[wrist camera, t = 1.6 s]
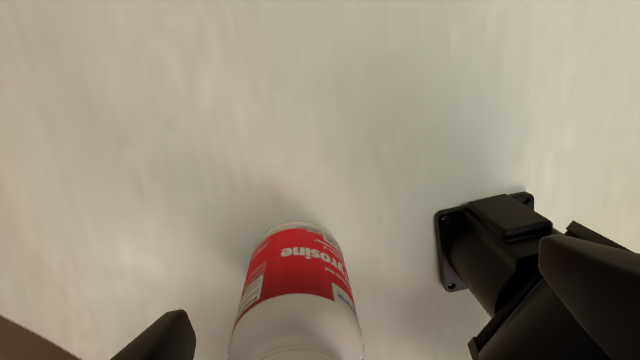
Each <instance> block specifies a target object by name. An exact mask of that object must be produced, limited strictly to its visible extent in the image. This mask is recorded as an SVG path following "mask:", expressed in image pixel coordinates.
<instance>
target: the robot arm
mask: <svg viewBox="0 0 640 360" xmlns="http://www.w3.org/2000/svg"><path fill="white" fill-rule="evenodd" d="M524 198H526V200H525V201H524V202H523V200H524ZM444 216H446V218H445V219H444V220H442V218H443V217H444ZM436 228H437V237H438V247H439V256H440V266H441V275H442V285H443V287H444V288H445V290H446V291H448V292H454V291H458V290H463V289H467V288H468V289H469V290H470V291H471V292H472V294H473V295H474V296H475V298H476V299H477V300H478V301H479V303H480V304H481V305H482V306H483V308H484V309H485V310H486V312H487V313H488V314H489V315H490V317H491V318H492V319H491V320H490V321H489V323H488V324H487V325H486V326H485V327H484V328H483V330H482V331H481V332H480V333H479V334H478V335H477V337H473V338H472V339H471V340H470V341H469V343H468V347H469V350H470V353H471V356H472V359H473V360H640V254H638V253H634V252H632V251H630V250H628V249H627V248H625V247H623V246H621V245H619V244H617V243H615V242H613V241H611V240H609V239H608V238H606V237H604V236H602V235H600V234H598V233H596V232H594V231H592V230H590V229H588V228H587V227H585V226H583V225H581V224H579V223H577V222H575V221H572V222H571V223H570V225H569V226H568V227H567V228H566V229H567V230H568V231H567V232H566V233H565V234H563V233H561V232H559V231H558V230H556V229H554V228H553V223H552V222H551V221H550V220H548V219H547V218H545V217H543V216H542V215H540V214H538V213H537V212H535V211H534V197H533V196H532V195H531V194H529V193H528V192H519V193H515V194H511V195H506V194H502V195H498V196H494V197H489V198H485V199H480V200H476V201H472V202H469V203H468V204H467V205H462V206H458V207H454V208H449V209H445V210H441V211H439V212H438V213H437V214H436ZM451 283H452V284H451ZM449 284H451V285H450V286H449ZM195 347H196V336H195V332H194V330H193V327H192V325H191V323H190V320H189V318H188V315H187V313H186V312H185V311H184V310H182V309H180V310H175V311H170V312H167V313H165V314H164V315H163V316H161V317H160V318H159V319H158V320H157V321H155V322H154V323H153V324H152V325H151V326H149V327H148V328H147V329H146V330H145V331H144V332H142V333H141V334H140V335H139V336H138V337H136V338H135V339H134V340H133V341H132V342H131V343H129V344H128V345H127V346H126V347H125V348H123V349H122V350H121V351H120V352H119V353H117V354H116V355H115V356H114V357H113V358H112V359H110V360H193V358H194V352H195Z"/></svg>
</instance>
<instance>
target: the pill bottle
mask: <svg viewBox="0 0 640 360" xmlns="http://www.w3.org/2000/svg"><path fill="white" fill-rule="evenodd" d="M363 353H364V348H363V339H362V334H361V329H360V326H359V322H358V317H357V313H356V309H355V304H354V300H353V296H352V292H351V288H350V284H349V279H348V275H347V271H346V267H345V263H344V259H343V255H342V251H341V248H340V246H339V244H338V242H337V241H336V239H335V238H334V237H333V236H332V235H331V234H330V233H329V232H328V231H327V230H325V229H324V228H322V227H320V226H318V225H316V224H313V223H309V222H304V221H291V222H286V223H282V224H280V225H277V226H275V227H273V228H272V229H270V230H269V231H267V232H266V233H265V234H264V235H263V236H262V237H261V238H260V240H259V241H258V242H257V244H256V246H255V248H254V251H253V254H252V257H251V261H250V265H249V269H248V272H247V277H246V281H245V284H244V288H243V293H242V296H241V300H240V304H239V308H238V313H237V316H236V320H235V324H234V328H233V332H232V336H231V340H230V346H229V360H363Z"/></svg>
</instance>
